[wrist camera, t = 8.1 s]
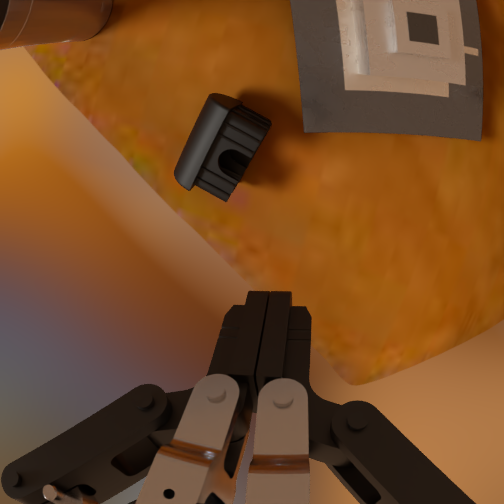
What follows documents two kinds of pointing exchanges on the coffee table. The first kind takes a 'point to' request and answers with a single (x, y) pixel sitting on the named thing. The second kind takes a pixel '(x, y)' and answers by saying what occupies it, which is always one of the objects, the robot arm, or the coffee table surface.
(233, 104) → the end cap
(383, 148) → the coffee table surface
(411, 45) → the cover
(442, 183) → the coffee table surface
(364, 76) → the grey flat square slab
